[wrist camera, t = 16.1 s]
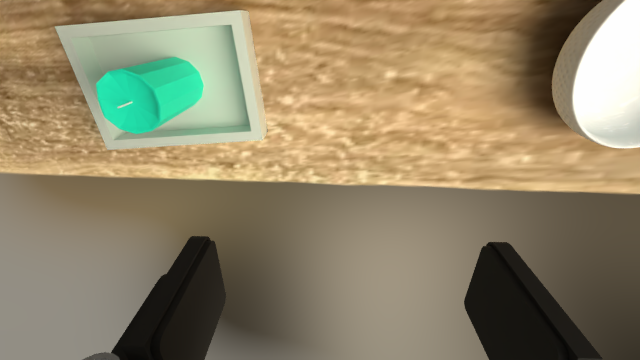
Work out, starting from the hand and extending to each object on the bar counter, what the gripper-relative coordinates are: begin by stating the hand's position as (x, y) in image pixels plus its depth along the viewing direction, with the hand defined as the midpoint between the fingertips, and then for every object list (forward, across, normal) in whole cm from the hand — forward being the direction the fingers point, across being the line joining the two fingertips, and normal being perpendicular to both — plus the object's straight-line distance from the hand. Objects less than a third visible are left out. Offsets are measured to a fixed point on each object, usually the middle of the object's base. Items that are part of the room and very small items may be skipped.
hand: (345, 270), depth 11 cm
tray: (+30, +19, -1) cm, 36 cm away
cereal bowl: (+31, -32, -4) cm, 44 cm away
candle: (+30, +19, -1) cm, 35 cm away
